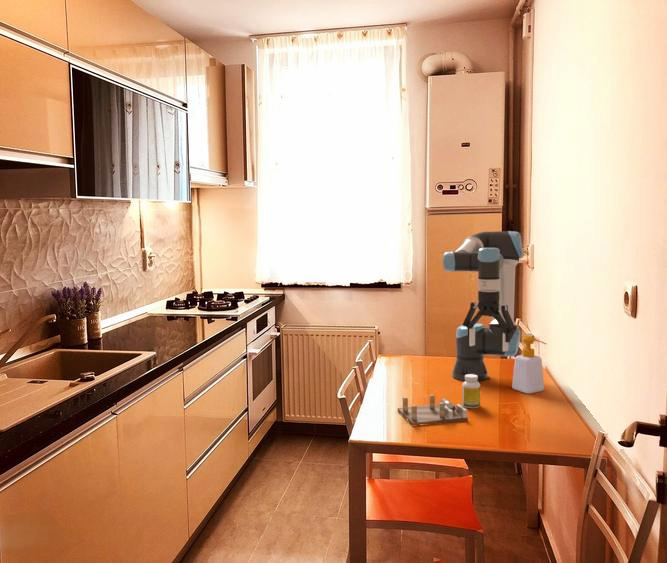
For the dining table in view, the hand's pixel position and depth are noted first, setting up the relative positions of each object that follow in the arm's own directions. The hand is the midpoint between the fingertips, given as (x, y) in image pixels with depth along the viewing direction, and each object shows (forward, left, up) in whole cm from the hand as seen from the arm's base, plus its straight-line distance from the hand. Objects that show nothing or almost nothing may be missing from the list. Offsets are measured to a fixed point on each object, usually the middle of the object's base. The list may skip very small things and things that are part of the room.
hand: (488, 348), depth 209 cm
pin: (+2, -17, -21) cm, 27 cm away
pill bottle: (-3, -5, -22) cm, 23 cm away
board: (+3, -23, -22) cm, 32 cm away
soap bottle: (-13, +26, -22) cm, 36 cm away
